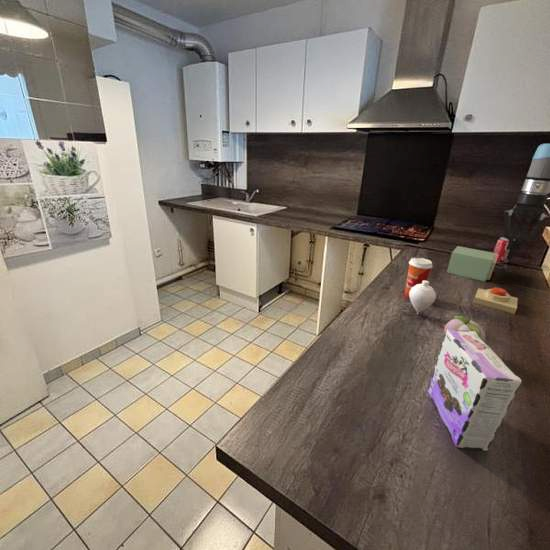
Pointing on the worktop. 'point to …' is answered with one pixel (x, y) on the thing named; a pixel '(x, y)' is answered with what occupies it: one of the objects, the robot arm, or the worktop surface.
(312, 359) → the worktop surface
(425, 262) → the paper cup
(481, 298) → the block
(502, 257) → the soda can
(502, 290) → the button
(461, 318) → the decorative fruit
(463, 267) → the cabinet
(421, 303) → the spinning top
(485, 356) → the candy box
